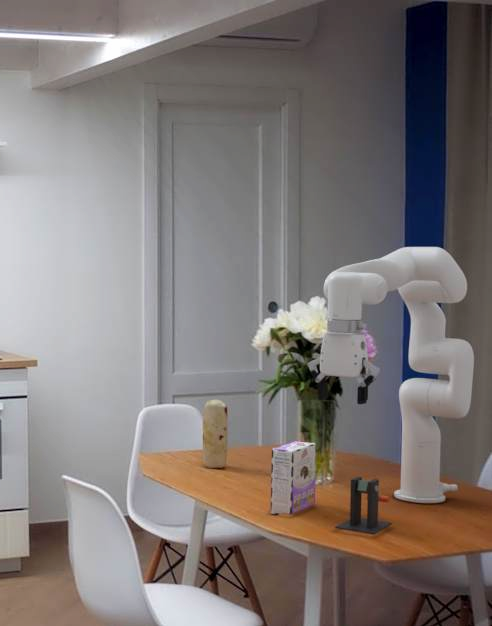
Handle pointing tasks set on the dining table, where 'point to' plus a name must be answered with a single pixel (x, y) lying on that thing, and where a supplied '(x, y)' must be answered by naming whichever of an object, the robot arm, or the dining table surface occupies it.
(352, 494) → the two-post lever stand
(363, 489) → the switch lever
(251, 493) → the dining table surface
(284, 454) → the candy box
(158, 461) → the dining table surface
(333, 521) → the dining table surface
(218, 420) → the food model
